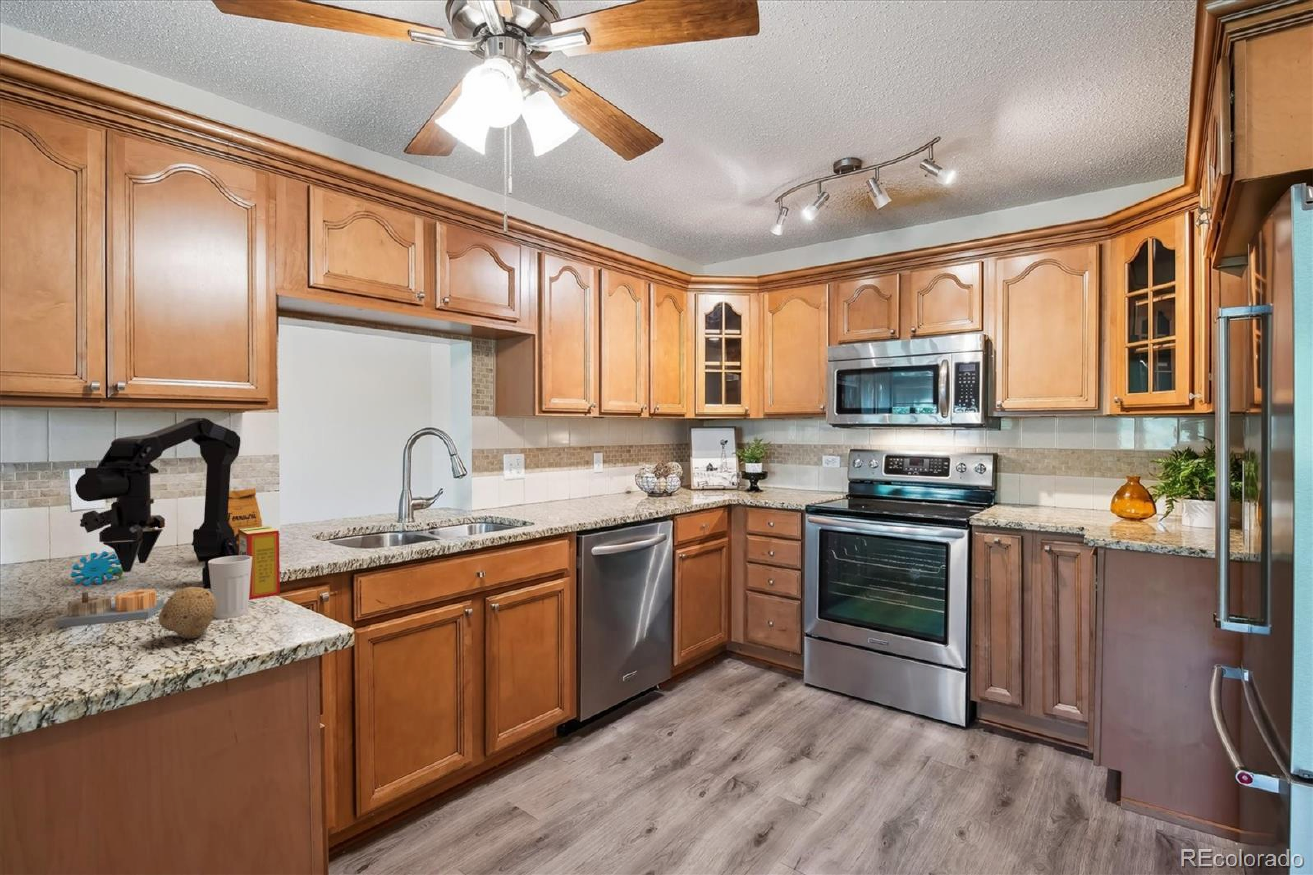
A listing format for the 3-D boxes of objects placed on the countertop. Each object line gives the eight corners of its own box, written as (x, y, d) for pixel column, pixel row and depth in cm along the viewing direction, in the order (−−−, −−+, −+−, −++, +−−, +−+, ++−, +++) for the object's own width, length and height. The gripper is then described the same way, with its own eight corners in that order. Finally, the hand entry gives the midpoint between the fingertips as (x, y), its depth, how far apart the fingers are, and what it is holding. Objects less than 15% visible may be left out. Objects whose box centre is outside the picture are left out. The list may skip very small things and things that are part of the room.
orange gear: (160, 601, 142) (160, 587, 142) (150, 609, 136) (150, 595, 136) (122, 604, 139) (122, 591, 139) (110, 613, 133) (109, 599, 133)
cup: (261, 610, 140) (260, 557, 140) (226, 621, 133) (225, 564, 132) (235, 607, 143) (234, 554, 142) (200, 617, 135) (199, 561, 135)
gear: (60, 581, 158) (82, 548, 165) (69, 593, 162) (90, 560, 169) (112, 584, 161) (131, 551, 168) (119, 596, 165) (138, 564, 172)
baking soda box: (279, 594, 153) (279, 529, 153) (248, 600, 148) (247, 532, 148) (269, 587, 160) (268, 524, 159) (239, 592, 155) (238, 527, 155)
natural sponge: (152, 649, 116) (151, 595, 116) (167, 634, 125) (166, 584, 124) (211, 642, 120) (210, 590, 120) (222, 628, 128) (221, 579, 128)
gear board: (163, 605, 143) (163, 590, 143) (148, 618, 134) (148, 602, 134) (79, 613, 138) (79, 597, 138) (57, 627, 128) (57, 610, 128)
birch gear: (116, 605, 139) (116, 584, 139) (103, 614, 133) (103, 592, 132) (76, 608, 136) (76, 588, 136) (61, 618, 130) (60, 596, 130)
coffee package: (267, 563, 187) (266, 489, 186) (217, 570, 178) (215, 492, 177) (258, 558, 194) (257, 486, 193) (209, 564, 185) (208, 489, 184)
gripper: (104, 492, 142) (105, 561, 142) (65, 502, 125) (67, 580, 125) (165, 490, 146) (166, 557, 147) (135, 500, 129) (136, 575, 130)
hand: (134, 567), depth 137 cm, fingers open, 9 cm apart
